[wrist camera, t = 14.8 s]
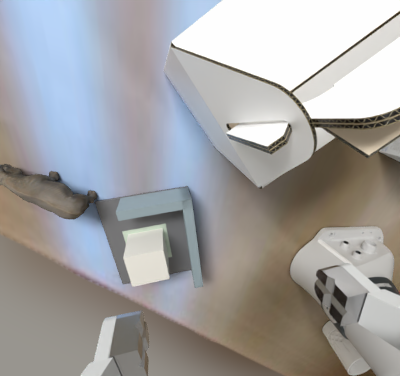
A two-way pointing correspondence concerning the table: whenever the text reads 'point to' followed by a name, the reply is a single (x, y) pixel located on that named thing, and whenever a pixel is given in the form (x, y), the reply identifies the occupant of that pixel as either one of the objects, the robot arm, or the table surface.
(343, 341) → the white cup
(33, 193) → the rhino figurine
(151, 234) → the block
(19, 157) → the table surface
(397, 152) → the light bulb box
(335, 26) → the gable box
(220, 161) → the table surface
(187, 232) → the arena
